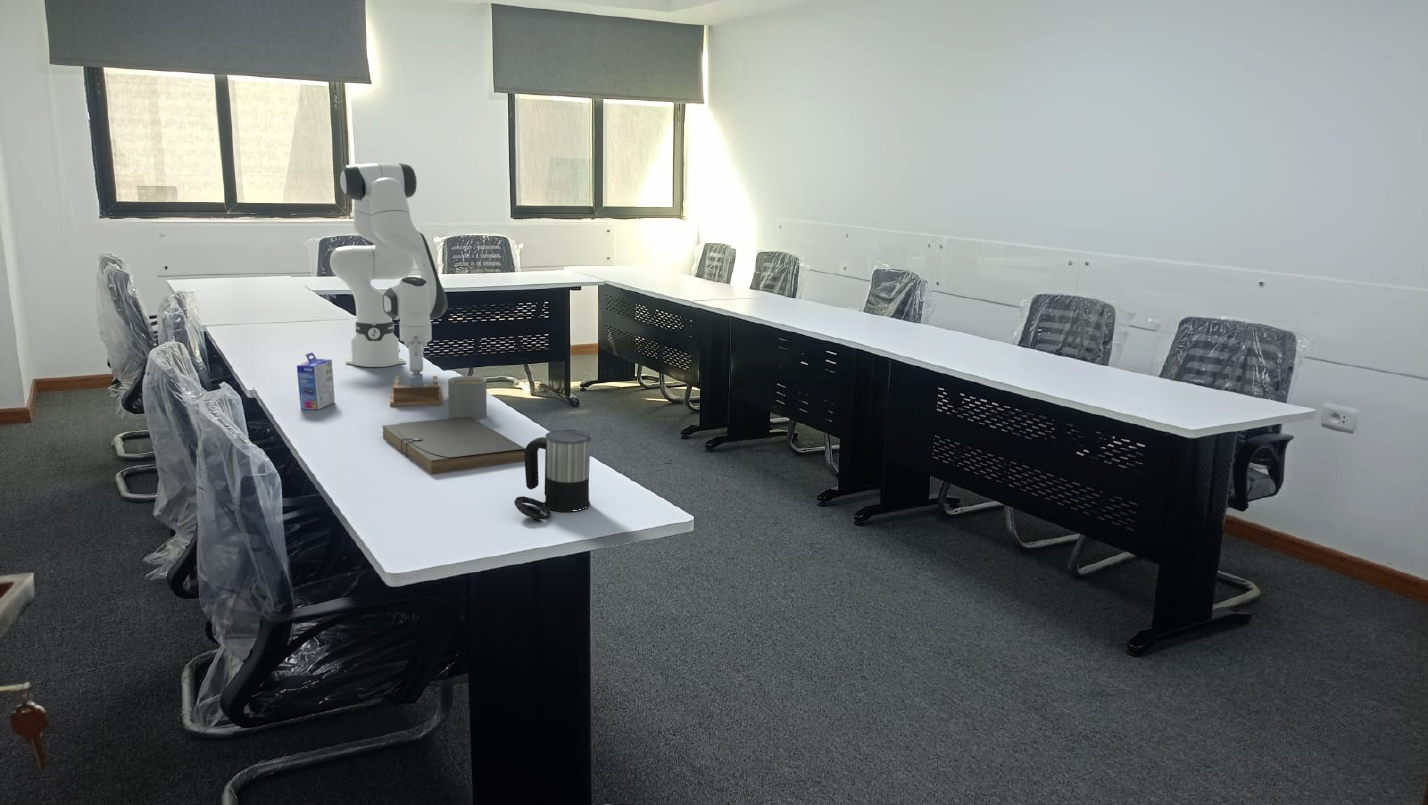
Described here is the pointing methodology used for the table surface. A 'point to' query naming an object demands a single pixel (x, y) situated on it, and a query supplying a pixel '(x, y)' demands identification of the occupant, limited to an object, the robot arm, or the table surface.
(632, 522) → the table surface
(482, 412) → the coffee mug
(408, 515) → the table surface
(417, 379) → the grey flanged pedestal
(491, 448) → the file folder
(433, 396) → the wooden tray
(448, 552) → the table surface
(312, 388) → the ink cartridge box
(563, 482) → the milk frother
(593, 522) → the table surface
